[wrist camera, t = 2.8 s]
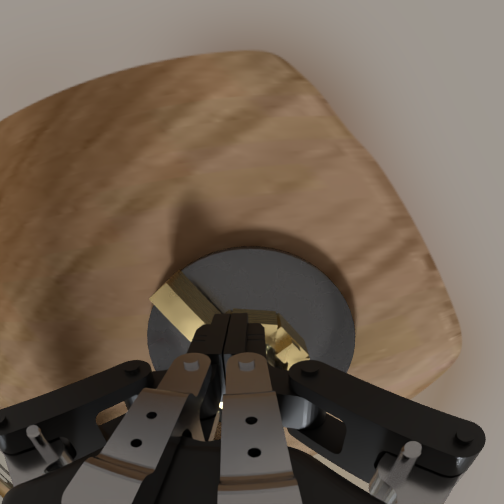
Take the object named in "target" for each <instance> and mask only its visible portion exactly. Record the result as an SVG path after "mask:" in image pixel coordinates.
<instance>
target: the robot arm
mask: <svg viewBox="0 0 504 504" xmlns="http://www.w3.org/2000/svg"><path fill="white" fill-rule="evenodd" d="M122 401H125V404H126V407H127V409H128V412H127V413H125V414H123V415H121V416H119V417H117V418H115V419H113V420H111V421H109V422H107V423H104V424H102V425H97V423H96V416H97V414H98V413H99V412H101V411H103V410H105V409H107V408H110V407H112V406H114V405H116V404H118V403H120V402H122ZM220 403H222V428H221V440H214V441H213V439H214V435H215V432H216V428H217V425H218V421H219V417H220V415H219V408H220ZM326 412H328V413H330V414H332V415H333V416H335V417H337V418H339V419H340V420H342V421H343V422H341V421H339V420H338V419H336V418H334V417H332V416H330V415H329V414H327V413H326ZM283 427H287V429H288V432H289V433H290V434H291V435H292V436H293V437H294V438H296V439H297V440H299V441H300V442H302V443H303V444H305V445H306V446H308V447H309V448H311V449H312V450H314V451H315V452H317V453H318V454H320V455H321V456H323V457H325V458H326V459H328V460H329V461H331V462H332V463H334V464H336V465H337V466H339V467H341V468H342V469H344V470H346V471H347V472H349V473H351V474H353V475H354V476H356V477H358V478H360V479H362V480H363V481H365V482H367V483H369V492H370V494H369V493H368V492H366V491H364V490H363V489H361V488H359V487H358V486H356V485H355V484H353V483H351V482H350V481H348V480H347V479H345V478H344V477H342V476H340V475H339V474H337V473H336V472H334V471H333V470H331V469H330V468H328V467H327V466H326V465H324V464H323V463H321V462H320V461H318V460H317V459H315V458H314V457H313V456H311V455H309V454H307V453H305V452H303V451H301V450H298V449H295V448H292V447H288V446H287V443H286V438H285V434H284V429H283ZM485 440H486V439H485V434H484V431H483V430H482V428H481V427H480V426H478V425H477V424H475V423H473V422H470V421H468V420H464V419H461V418H458V417H455V416H452V415H450V414H446V413H444V412H441V411H438V410H436V409H433V408H430V407H427V406H425V405H422V404H419V403H417V402H414V401H412V400H409V399H406V398H404V397H401V396H399V395H396V394H394V393H391V392H389V391H387V390H384V389H382V388H379V387H377V386H375V385H372V384H370V383H368V382H365V381H363V380H361V379H358V378H356V377H354V376H352V375H349V374H347V373H345V372H343V371H341V370H338V369H336V368H334V367H332V366H330V365H328V364H325V363H323V362H321V361H317V360H304V361H300V362H297V363H295V364H293V365H292V366H291V367H290V368H289V370H282V369H278V368H275V367H273V366H271V365H270V364H269V363H268V362H267V359H266V343H265V328H264V327H263V326H262V325H261V324H260V323H249V322H248V313H232V314H230V313H227V314H214V316H213V319H212V322H211V324H203V325H202V326H200V327H199V328H198V329H197V330H196V332H195V334H194V337H193V339H192V341H191V344H190V346H189V348H188V351H187V353H186V354H183V355H181V356H179V357H177V358H176V359H175V360H174V361H173V362H172V364H171V366H170V367H169V369H167V370H161V371H153V372H152V370H151V367H150V365H149V364H148V363H147V362H145V361H141V360H132V361H127V362H124V363H122V364H119V365H117V366H115V367H112V368H110V369H108V370H105V371H103V372H100V373H98V374H95V375H93V376H90V377H88V378H85V379H83V380H80V381H78V382H75V383H73V384H70V385H68V386H65V387H62V388H60V389H57V390H55V391H52V392H49V393H46V394H44V395H41V396H38V397H36V398H33V399H30V400H27V401H24V402H21V403H19V404H16V405H13V406H10V407H7V408H4V409H1V410H0V451H1V452H2V453H3V454H4V456H5V459H6V463H7V466H8V470H9V473H10V476H11V479H12V482H13V485H14V487H13V488H12V489H11V490H9V491H8V492H7V494H6V495H5V497H4V498H3V501H2V504H444V502H445V501H446V499H447V497H448V496H449V494H450V492H451V490H452V488H453V487H454V486H455V485H456V484H457V482H458V481H459V480H460V479H461V477H462V476H463V475H464V473H465V472H466V471H467V470H468V468H469V467H470V465H471V464H472V463H473V461H474V460H475V458H476V457H477V456H478V454H479V453H480V451H481V450H482V448H483V447H484V444H485Z"/></svg>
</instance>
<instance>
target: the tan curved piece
mask: <svg viewBox="0 0 504 504" xmlns="http://www.w3.org/2000/svg"><path fill="white" fill-rule="evenodd" d="M149 300H150V301H151V302H152V303H153V304H154V305H155V306H156V307H157V308H158V309H159V310H160V311H161V313H162V314H163V315H164V316H165V317H166V318H167V319H168V320H169V321H170V322H171V323H172V324H173V325H174V326H175V327H176V328H177V329H178V330H179V331H180V332H181V333H182V334H183V335H184V336H185V337H186V338H187V339H188V340H189V341H190V342H191V341H192V339H193V337H194V334H195V332H196V330H197V329H198V328H199V327H200V326H202V325H203V324H211V322H212V319H213V316H214V314H221V313H220V312H219V311H218V310H217V309H216V308H215V307H214V305H213V304H212V303H211V302H210V301H209V300H208V299H207V298H206V297H205V296H204V295H203V294H202V293H201V292H200V291H199V290H198V289H197V287H196V286H195V285H194V284H193V283H192V282H191V281H190V280H189V279H188V278H187V277H186V276H185V274H184V273H183V272H182V271H181V270H180V269H179V270H178V271H177V272H176V273H175V274H174V275H173V276H172V277H171V278H170V279H168V280H167V281H166V282H165V283H164V284H163V285H162V286H161V287H160V288H159V289H158V290H157V291H156V292H155V293H154V294H153V295H152V296H151V297H150V298H149ZM227 313H230V314H232V313H248V322H249V323H260V324H261V325H262V326H263V327H264V328H265V343H266V344H269V345H270V346H271V347H272V348H273V349H274V350H275V354H276V356H277V357H278V358H279V359H280V360H281V361H282V362H283V368H282V370H289V368H290V367H291V366H292V365H293V364H295V363H297V362H300V361H304V360H310V357H309V354H308V350H307V347H306V344H305V341H304V339H303V338H302V337H301V336H300V335H299V334H298V333H297V332H296V330H295V329H294V328H293V327H292V326H291V325H290V324H289V323H288V322H287V321H286V320H285V319H284V318H283V316H282V315H281V314H280V313H278V314H277V315H276V311H265V310H250V309H237V308H233V311H231V310H230V309H229V310H228V311H227V312H225V313H224V314H227ZM220 408H222V403H220Z"/></svg>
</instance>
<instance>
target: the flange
mask: <svg viewBox="0 0 504 504" xmlns="http://www.w3.org/2000/svg"><path fill="white" fill-rule="evenodd" d="M181 271H182V272H183V273H184V274H185V276H186V277H187V278H188V279H189V280H190V281H191V282H192V283H193V284H194V285H195V286H196V287H197V289H198V290H199V291H200V292H201V293H202V294H203V295H204V296H205V297H206V298H207V299H208V300H209V301H210V302H211V303H212V304H213V305H214V307H215V308H216V309H217V310H218V311H219V312H220V313H221V314H224V313H225V312H227V311H228V310H229V309H230V310H231V311H233V308H237V309H250V310H265V311H276V315H277V314H278V313H280V314H281V315H282V316H283V318H284V319H285V320H286V321H287V322H288V323H289V324H290V325H291V326H292V327H293V328H294V329H295V330H296V332H297V333H298V334H299V335H300V336H301V337H302V338H303V339H304V341H305V344H306V347H307V350H308V354H309V357H310V360H317V361H321V362H323V363H325V364H328V365H330V366H332V367H334V368H336V369H338V370H341V371H343V372H345V373H347V371H348V369H349V366H350V364H351V361H352V358H353V353H354V347H355V329H354V322H353V318H352V315H351V311H350V309H349V307H348V305H347V303H346V301H345V299H344V297H343V296H342V294H341V293H340V291H339V290H338V288H337V287H336V286H335V285H334V284H333V282H332V281H331V280H330V279H329V278H328V277H327V276H326V275H325V274H324V273H323V272H322V271H320V270H319V269H318V268H317V267H315V266H314V265H312V264H311V263H309V262H307V261H306V260H304V259H302V258H300V257H298V256H295V255H293V254H291V253H288V252H285V251H281V250H277V249H274V248H266V247H259V246H243V247H234V248H228V249H224V250H220V251H216V252H213V253H210V254H208V255H206V256H203V257H201V258H199V259H197V260H196V261H194V262H192V263H190V264H189V265H187V266H186V267H185V268H184V269H182V270H181ZM147 337H148V348H149V354H150V357H151V360H152V363H153V366H154V368H155V370H156V371H161V370H167V369H169V367H170V366H171V364H172V362H173V361H174V360H175V359H176V358H177V357H179V356H181V355H183V354H186V353H187V351H188V348H189V346H190V344H191V342H190V341H189V340H188V339H187V338H186V337H185V336H184V335H183V334H182V333H181V332H180V331H179V330H178V329H177V328H176V327H175V326H174V325H173V324H172V323H171V322H170V321H169V320H168V319H167V318H166V317H165V316H164V315H163V314H162V313H161V311H160V310H159V309H158V308H157V307H156V306H155V305H154V306H153V308H152V311H151V315H150V318H149V323H148V331H147ZM266 359H267V362H268V363H269V364H270V365H271V366H273V367H275V368H278V369H282V368H283V362H282V361H281V360H280V359H279V358H278V357H277V356H276V354H275V350H274V349H273V348H272V347H271V346H270V345H269V344H266ZM219 415H220V417H219V422H222V408H219Z"/></svg>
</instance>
